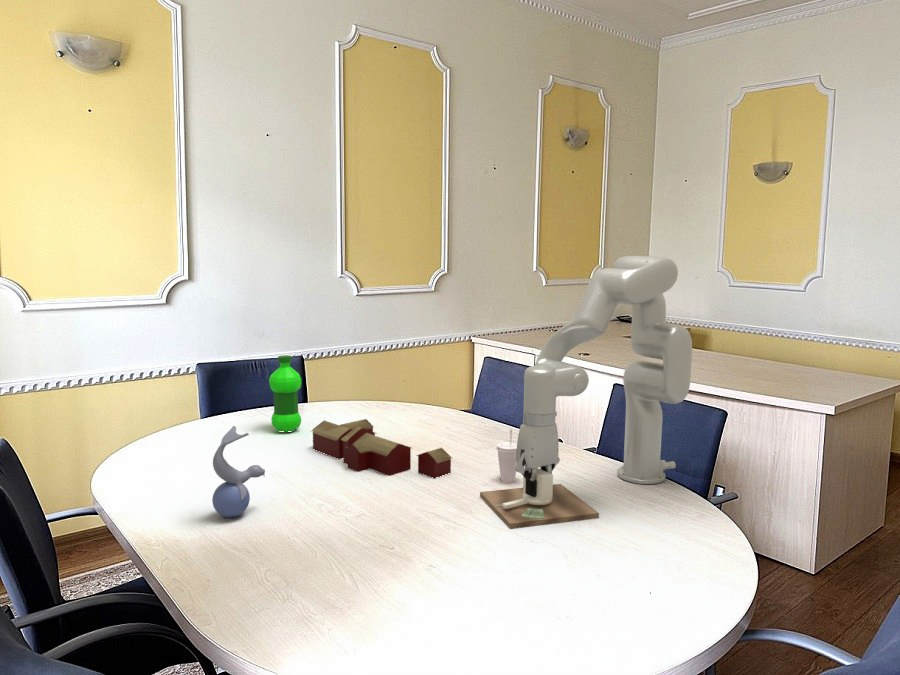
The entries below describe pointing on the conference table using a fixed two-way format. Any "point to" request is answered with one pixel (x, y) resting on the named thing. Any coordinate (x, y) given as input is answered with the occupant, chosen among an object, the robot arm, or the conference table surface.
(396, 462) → the toy houses
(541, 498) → the peg knob
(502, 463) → the smoothie
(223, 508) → the seal
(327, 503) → the conference table surface
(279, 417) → the plastic bottle
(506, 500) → the dial board
